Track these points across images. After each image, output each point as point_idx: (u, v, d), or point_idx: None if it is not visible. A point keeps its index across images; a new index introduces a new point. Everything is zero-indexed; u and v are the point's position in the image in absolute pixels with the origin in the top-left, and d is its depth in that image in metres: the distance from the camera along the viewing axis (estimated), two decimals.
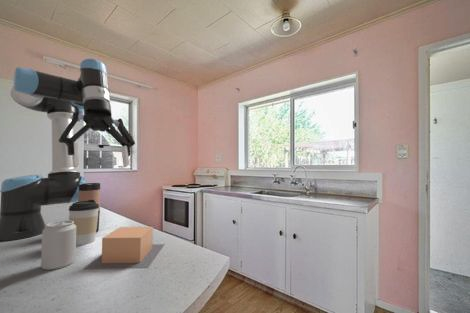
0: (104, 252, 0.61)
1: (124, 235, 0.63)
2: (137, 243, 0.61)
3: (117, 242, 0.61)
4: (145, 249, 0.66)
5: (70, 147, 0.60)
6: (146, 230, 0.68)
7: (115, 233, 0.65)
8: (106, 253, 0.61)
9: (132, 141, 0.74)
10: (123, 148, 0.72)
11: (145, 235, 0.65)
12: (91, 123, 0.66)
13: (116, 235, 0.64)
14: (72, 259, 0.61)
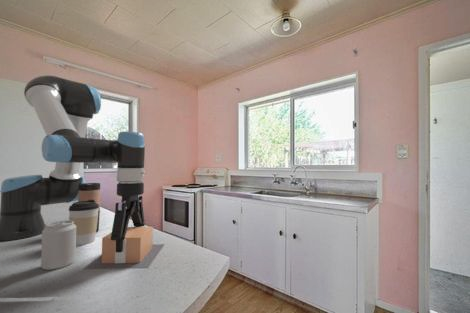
0: (104, 252, 0.61)
1: None
2: (137, 243, 0.61)
3: None
4: (145, 249, 0.66)
5: (121, 245, 0.60)
6: (146, 230, 0.68)
7: None
8: (106, 253, 0.61)
9: (143, 219, 0.75)
10: None
11: (145, 235, 0.65)
12: (132, 211, 0.65)
13: None
14: (72, 259, 0.61)
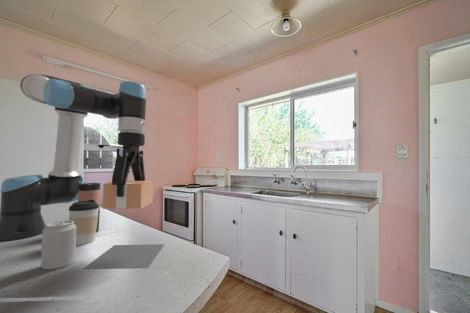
0: (105, 197, 0.62)
1: None
2: (138, 189, 0.62)
3: None
4: (146, 199, 0.66)
5: (122, 190, 0.60)
6: (147, 182, 0.69)
7: None
8: (107, 198, 0.62)
9: (144, 175, 0.75)
10: None
11: (146, 185, 0.66)
12: (133, 160, 0.65)
13: None
14: (72, 259, 0.61)
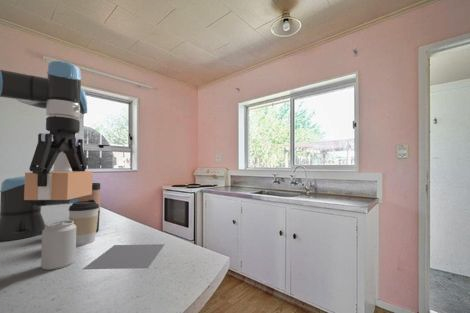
0: (27, 188, 0.56)
1: (52, 172, 0.58)
2: (64, 179, 0.56)
3: None
4: (77, 189, 0.60)
5: (44, 179, 0.54)
6: (81, 171, 0.63)
7: None
8: (29, 189, 0.56)
9: (84, 166, 0.70)
10: None
11: (77, 174, 0.60)
12: (62, 147, 0.59)
13: None
14: (72, 259, 0.61)
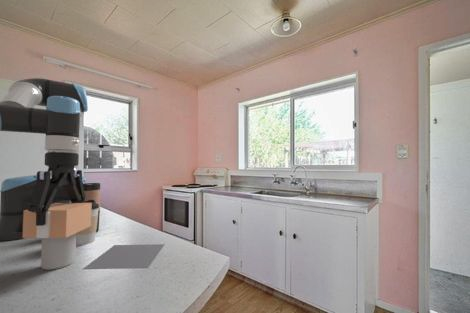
0: (25, 226, 0.55)
1: (51, 208, 0.58)
2: (63, 216, 0.56)
3: None
4: (76, 225, 0.60)
5: (43, 218, 0.54)
6: (80, 205, 0.62)
7: None
8: (28, 227, 0.55)
9: (84, 196, 0.69)
10: None
11: (76, 209, 0.60)
12: (61, 182, 0.59)
13: None
14: (72, 259, 0.61)
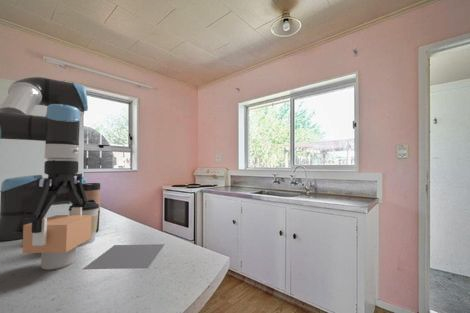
0: (25, 241, 0.55)
1: (51, 222, 0.57)
2: (63, 231, 0.56)
3: None
4: (76, 238, 0.60)
5: (39, 225, 0.53)
6: (80, 218, 0.62)
7: None
8: (28, 242, 0.55)
9: (86, 200, 0.70)
10: (77, 209, 0.67)
11: (76, 223, 0.60)
12: (60, 190, 0.59)
13: None
14: (72, 259, 0.61)
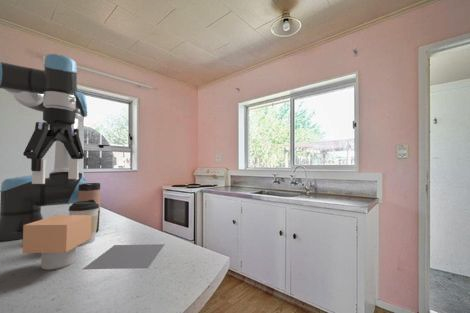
0: (25, 241, 0.55)
1: (51, 222, 0.57)
2: (63, 231, 0.56)
3: (40, 230, 0.55)
4: (76, 238, 0.60)
5: (38, 164, 0.56)
6: (80, 218, 0.62)
7: (43, 221, 0.59)
8: (28, 242, 0.55)
9: (82, 153, 0.74)
10: (74, 160, 0.71)
11: (76, 223, 0.60)
12: (58, 136, 0.62)
13: (42, 222, 0.58)
14: (72, 259, 0.61)
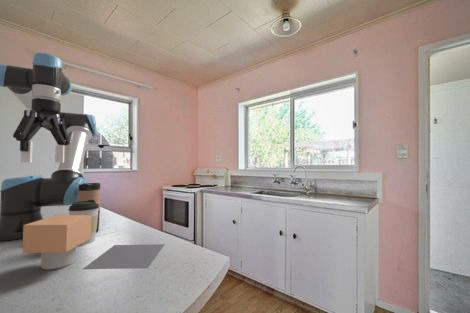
0: (25, 241, 0.55)
1: (51, 222, 0.58)
2: (63, 231, 0.56)
3: (40, 230, 0.55)
4: (76, 238, 0.60)
5: (26, 145, 0.66)
6: (80, 218, 0.62)
7: (43, 221, 0.59)
8: (28, 242, 0.55)
9: (68, 141, 0.83)
10: (60, 146, 0.80)
11: (76, 223, 0.60)
12: (44, 123, 0.71)
13: (42, 222, 0.58)
14: (72, 259, 0.61)
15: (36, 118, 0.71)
